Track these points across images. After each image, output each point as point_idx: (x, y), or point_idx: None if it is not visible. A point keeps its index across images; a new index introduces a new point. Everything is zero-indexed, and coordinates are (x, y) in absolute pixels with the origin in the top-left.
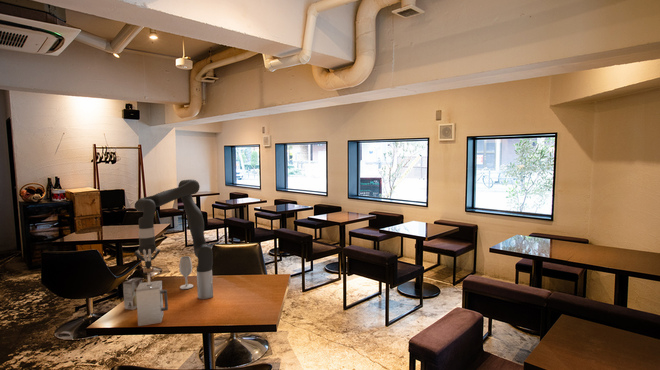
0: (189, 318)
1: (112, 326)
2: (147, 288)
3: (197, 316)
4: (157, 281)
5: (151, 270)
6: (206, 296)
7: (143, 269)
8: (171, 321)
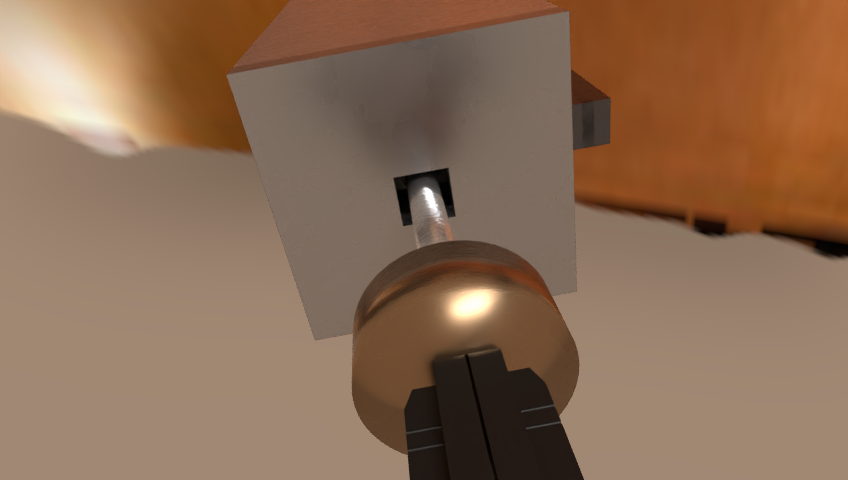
0: (681, 100)
1: (130, 132)
2: None
3: (739, 75)
4: (507, 50)
5: None
6: None
7: (376, 426)
8: None
